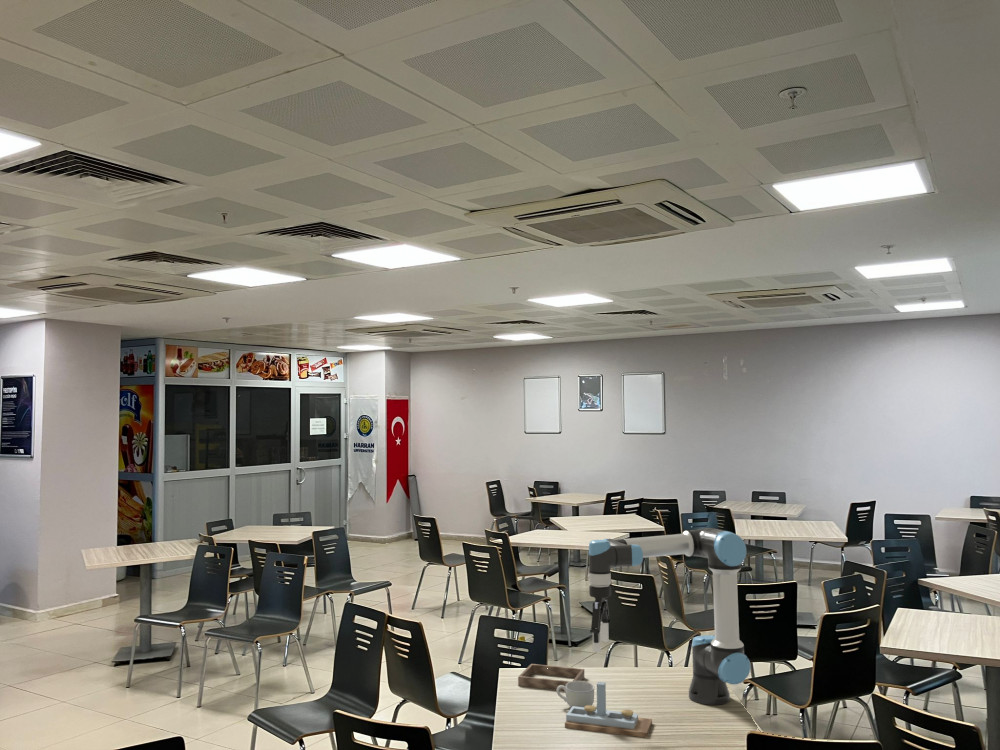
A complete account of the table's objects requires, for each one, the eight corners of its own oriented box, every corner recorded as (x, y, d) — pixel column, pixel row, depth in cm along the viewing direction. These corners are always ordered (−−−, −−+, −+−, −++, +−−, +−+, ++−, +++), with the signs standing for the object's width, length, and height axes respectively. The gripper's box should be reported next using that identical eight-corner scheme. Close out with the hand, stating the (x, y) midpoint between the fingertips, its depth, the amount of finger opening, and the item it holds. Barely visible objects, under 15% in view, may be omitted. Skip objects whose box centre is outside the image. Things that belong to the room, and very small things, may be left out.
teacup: (597, 704, 288) (597, 682, 289) (591, 714, 278) (591, 691, 279) (561, 700, 293) (561, 678, 293) (553, 709, 283) (553, 687, 283)
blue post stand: (638, 719, 269) (637, 682, 270) (634, 729, 260) (633, 691, 261) (572, 711, 276) (572, 676, 277) (566, 720, 268) (565, 683, 269)
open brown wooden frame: (584, 677, 319) (584, 669, 319) (574, 691, 302) (574, 682, 302) (531, 672, 327) (531, 663, 327) (518, 685, 310) (518, 676, 310)
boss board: (652, 723, 269) (651, 707, 269) (646, 737, 257) (646, 720, 257) (573, 714, 278) (573, 698, 278) (564, 727, 266) (564, 711, 266)
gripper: (596, 577, 285) (597, 636, 283) (581, 591, 261) (582, 655, 260) (617, 579, 282) (618, 638, 281) (603, 592, 259) (604, 657, 257)
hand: (600, 646), depth 270 cm, fingers open, 13 cm apart
